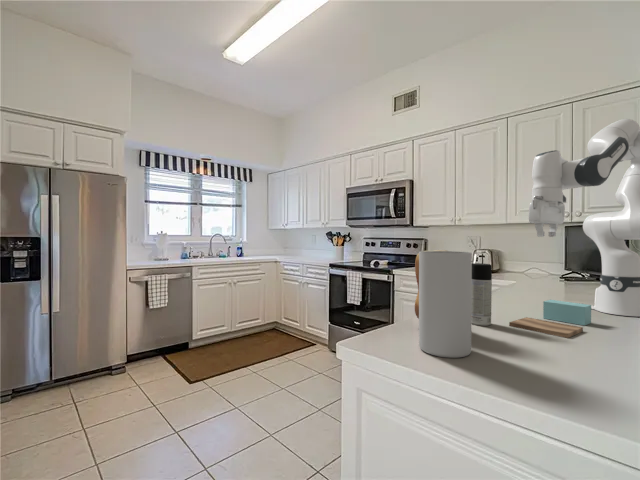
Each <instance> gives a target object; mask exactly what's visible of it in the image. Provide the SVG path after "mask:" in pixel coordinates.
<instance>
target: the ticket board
mask: <svg viewBox="0 0 640 480" xmlns="http://www.w3.org/2000/svg"><path fill="white" fill-rule="evenodd" d="M508 324H509V327H513V328H516V329H517V328H518V329H523V330H528V331H533V332H536V333H541V334H547V335H551V336H556V337H561V338H566V339H569V338H571V337H573V336H575V335H578V334H581V333H583V331H584V327H583V326H582V327H581V326H577V325H574V324H573V325H571V324H567V323H560V322H556V321H555V322H554V321H549V320H546V319H545V320H544V319H540V318H539V319H538V318H533V317H527V316H526V317H522V318H519V319H515V320H513V321H509V323H508Z"/></svg>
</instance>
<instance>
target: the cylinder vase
mask: <svg viewBox="0 0 640 480" xmlns="http://www.w3.org/2000/svg"><path fill="white" fill-rule="evenodd" d="M418 253H419V319H418V346H419V348H420V350H421V351H422V352H423V353H426V354H429V355H432V356H436V357H440V358H447V359H448V358H449V359H458V358H465V357H467V356H469V355H470V354H471V353H472V324H471V310H472V263H473V262H472V260H473V259H472V255H473V254H472V251H471V252H469V251H454V250H453V251H449V250H447V251H434V250H422V251H419V252H418Z"/></svg>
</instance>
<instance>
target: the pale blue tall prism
mask: <svg viewBox="0 0 640 480" xmlns="http://www.w3.org/2000/svg"><path fill="white" fill-rule="evenodd" d="M542 303H543V304H542V305H543V306H542V307H543V308H542V309H543V311H542V312H543V314H542V315H543V317H542V318H543V319H545V320H552V321H555V322H556V321H558V322H564V323H568V324H573V325H574V324H575V325H580V326H587V325H590V324H591V323H592V309H591V306H592V304H585V303H578V302H570V301H562V300H556V299H549V300H548V299H547V300H544V301H543V302H542Z"/></svg>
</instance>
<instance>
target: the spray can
mask: <svg viewBox="0 0 640 480" xmlns="http://www.w3.org/2000/svg"><path fill="white" fill-rule="evenodd" d="M492 270H493V265H492V264H490V263H479V262H478V263H475V262H474V263H473V262H472V310H471V325H475V326H479V327H480V326H483V327H484V326H485V327H486V326H491V324H492V301H493V300H492V299H493V297H492V295H493V294H492V293H493V291H492V290H493V289H492V283H493V275H492V274H493V271H492Z"/></svg>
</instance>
